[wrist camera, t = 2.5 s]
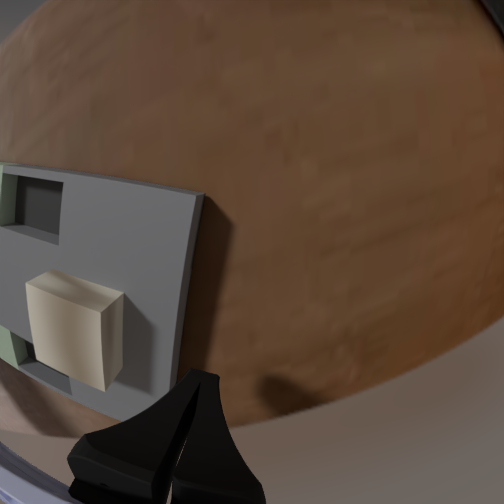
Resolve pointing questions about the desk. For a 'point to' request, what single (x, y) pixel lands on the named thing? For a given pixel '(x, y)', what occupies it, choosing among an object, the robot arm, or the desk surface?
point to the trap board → (100, 271)
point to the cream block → (76, 327)
